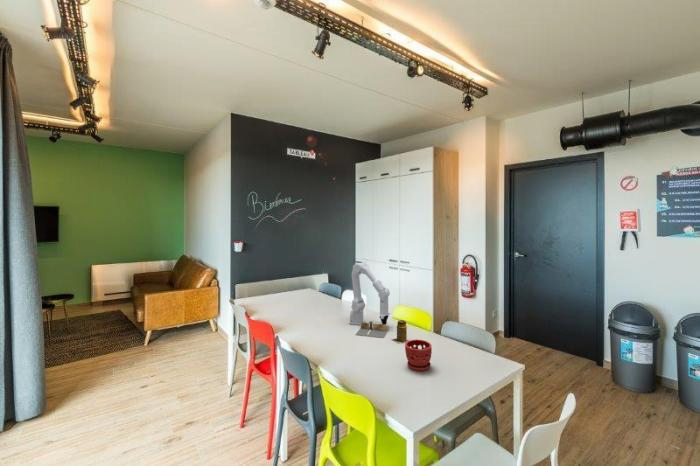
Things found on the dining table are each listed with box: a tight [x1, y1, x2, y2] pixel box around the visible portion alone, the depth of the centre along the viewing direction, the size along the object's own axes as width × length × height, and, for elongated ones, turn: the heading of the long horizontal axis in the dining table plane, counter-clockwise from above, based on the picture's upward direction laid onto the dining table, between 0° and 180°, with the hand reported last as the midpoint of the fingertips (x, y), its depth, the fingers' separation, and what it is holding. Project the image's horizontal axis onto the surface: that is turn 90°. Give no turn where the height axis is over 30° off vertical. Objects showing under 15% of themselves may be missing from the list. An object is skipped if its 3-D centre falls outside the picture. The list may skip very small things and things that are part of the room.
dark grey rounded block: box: [360, 320, 373, 330], centre depth 219 cm, size 8×2×5 cm, turn 72°
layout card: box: [355, 326, 389, 339], centre depth 214 cm, size 19×17×1 cm
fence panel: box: [372, 322, 387, 331], centre depth 217 cm, size 9×1×4 cm, turn 72°
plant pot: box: [404, 339, 433, 372], centre depth 164 cm, size 13×13×12 cm
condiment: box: [391, 319, 410, 344], centre depth 199 cm, size 7×8×12 cm
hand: (384, 326), depth 221 cm, fingers closed
